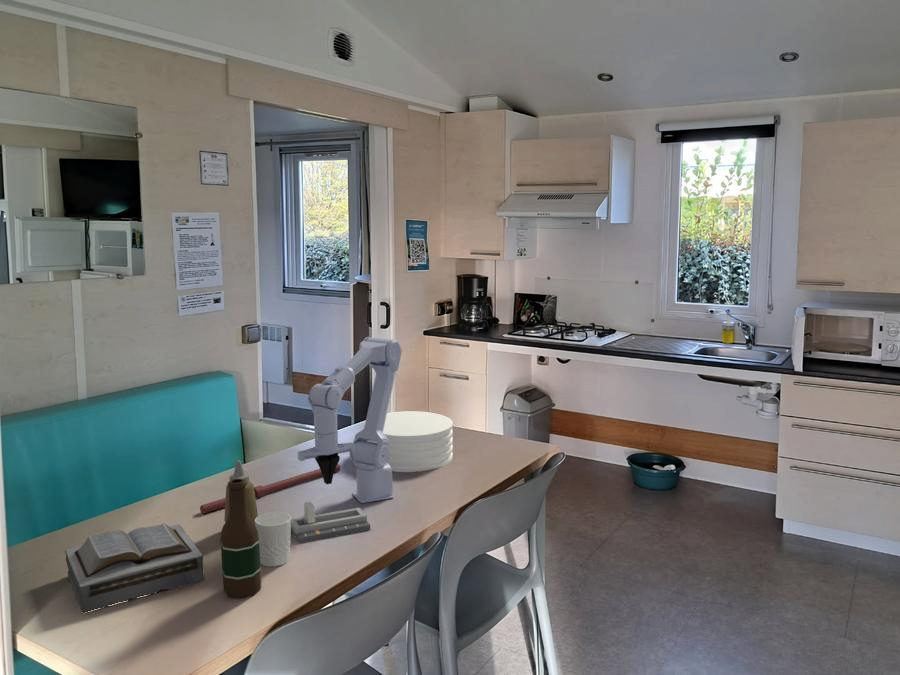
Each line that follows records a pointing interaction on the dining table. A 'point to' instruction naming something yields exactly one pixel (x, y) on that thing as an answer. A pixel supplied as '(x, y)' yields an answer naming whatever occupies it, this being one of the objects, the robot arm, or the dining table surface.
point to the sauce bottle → (240, 547)
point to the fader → (309, 514)
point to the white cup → (274, 538)
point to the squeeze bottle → (248, 488)
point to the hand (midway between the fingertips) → (327, 482)
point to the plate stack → (418, 440)
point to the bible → (132, 564)
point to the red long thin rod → (268, 488)
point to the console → (330, 525)
